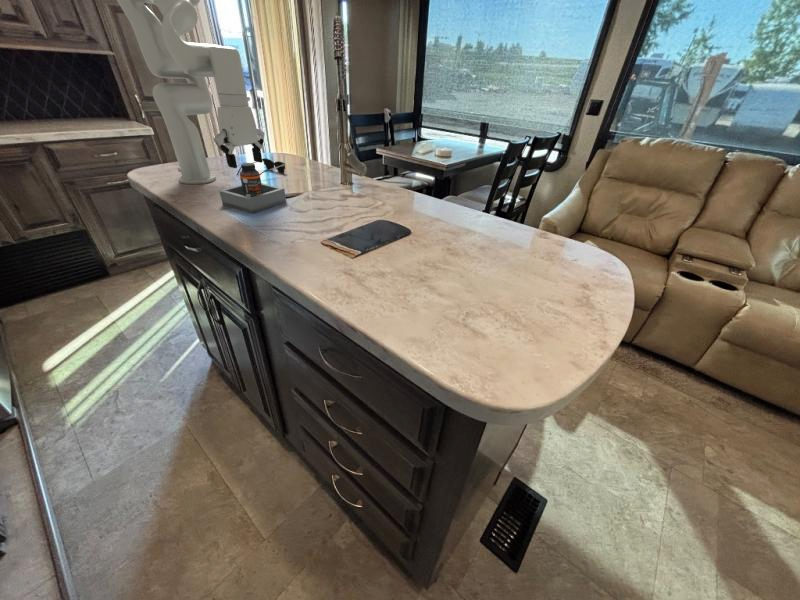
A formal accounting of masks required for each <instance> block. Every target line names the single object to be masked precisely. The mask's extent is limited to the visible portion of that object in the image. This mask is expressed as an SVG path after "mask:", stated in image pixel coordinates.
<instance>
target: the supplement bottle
mask: <svg viewBox="0 0 800 600" xmlns="http://www.w3.org/2000/svg"><path fill="white" fill-rule="evenodd" d="M240 164H241V165H240V167H242V168H241V170H240V171H239V179H240V183H241V184H240V185H242V188H243V193H244V196H247V197H254V196H257V195H260V194H263V190H262V184H261V183H262V179H261V175H260V172H259V170H257V169H256V164H255V163H253V162H244V163H243V162H242V163H240Z"/></svg>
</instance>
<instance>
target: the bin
mask: <svg viewBox="0 0 800 600" xmlns="http://www.w3.org/2000/svg"><path fill="white" fill-rule="evenodd" d="M261 184H262V190H263V194H260V195H257V196H254V197H247V196H244V193H243V188H242V184H239V185H236V186H232V187H228V188H225V189H220V190H218V192H219V195H220V199H221V203H222V205H223V206H226V207H228V208H229V207H230V208H233V209H236V210H240V211H243V212H248V213H249V214H257V213H259V212H262V211H265V210H268V209H270V207H271V208H272V207H276V206H279V205H281V203H282V204H285V203H287V198H286V192H285V188H284V187H280V186H275V185H271V184H267V183H263V182H261ZM278 204H279V205H278ZM275 205H276V206H275Z"/></svg>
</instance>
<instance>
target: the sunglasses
mask: <svg viewBox="0 0 800 600" xmlns="http://www.w3.org/2000/svg"><path fill="white" fill-rule="evenodd" d="M252 163H253V164H255V163H257V162H256V161H253V162H252ZM262 163H263V165H264V166H265V168H266V170H264V171H261V172H259V174H260V176H261V175H262V174H264V173H266V172H269V171H272V170H273V171H274V169H276V171H277V172H278V173H280V172H281V174H285V170H286V163H284V162H282V161H273V160H271V159H269V158H262ZM268 169H269V170H268ZM241 170H242V167H241V166H240V167H239V169H238V172H237V173H236V176H237V175H238V176H239V175H240V172H241Z"/></svg>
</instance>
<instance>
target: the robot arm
mask: <svg viewBox="0 0 800 600" xmlns="http://www.w3.org/2000/svg"><path fill="white" fill-rule="evenodd" d="M116 1H117V3H118V5H119V6H120V8H121V10H122V11H123V13H124V14H125V16H126V18H127V19H128V21H129V23H130V25H131V27H132V30H133V32H134V36H135V38H136V41H137V43H138V46H139V48H140V51H141V54H142V56H143V58H144V62H145V64H146V66H147V68H148V69H149V72H150V73H151V74H152V75H153V76H155V77H158V78H161V79H177V80H178V79H180V80H181V79H183V80H186V82H185V83H184V82H163V83H158V84H156V85H155V86H154V87H153V88H152V97H153V100H154V102H155V103H156V107H157V108H158V110H159V112H160V115H161V116H162V118H163V121H164V123H165V126H166V129H167V133H168V135H169V138H170V142H171V145H172V148H173V151H174V155H175V158H176V160H177V163H178V167H177V171H178V172H180V174H181V176H179V177H178V181H179V183H181V184H186V185H187V184H188V185H199V184H200V185H201V184H207V183H211V182H214V181H215V180H216V179H217V177H216V175H215V173H214V174H213V173H211V171H210V168H209V165H208V161H207V157H206V154H205V149H204V146H203V143H202V139H201V135H200V132H199V129H198V128H197V126H196V125H195V123H194V122H193V121H192V120H190V119H189V117H188V116H194V115H207V114H210V113H211V112H212V110H213V101H212V97H211V93H210V90H209V88H208V87H209V86H208V84H207V81H206V78H214V83H215V89H216V93H217V96H218V97H217V98H218V103H219V106H217V123H218V129H219V133H217V134H216V135H215V136H214V137H213V139H212V140H213V141H214V143H215V145H216V146H217V148H218V149H220V151H222V153H223V154H224V155H225V158H226V162H227V163H226V164H227V166H228V167H229V168H231V169H237V168H238V165H237V159H236V155H235V154H234V153H233V152H234V151H235V148H236V147H241V146H248V145H251V151H252V157H253V162H256V163H259V164H261V163H263V161H262V159H263V156H262V151H261V150H262V148H263V144H264V142H265V141H264V139H265V135H266V134H265V132H264V131H263V130H260V129H258V128H257V124H256V120H255V116H254V113H253V111H252V108H251V106H250V105H249V104H250V103H249V102H250V101H251V98H250V96H248V94H247V93H248V92H247V88H246V82H245V76H244V71H243V65H242V58H241V54H240V52H239V50H238V49H237V48H236V47H232V46H224V45H221V44H211V43H204V42H192V41H186V40H185V41H184V40H183V38H182V37H181V36H183V35H185V34H187V33H189V32H191V31H192V30H193V29H194V28H195V27H196V26H197V24H198V18H199V17H198V12H197V9H196V8H195V6H197V5H199V3H200V2H201V0H116ZM146 4H150V5H155V6H156V7H157V9H158V11H159V12H160V13H161V15H162V16H163V18H162V21H160V19H159V18H158V17H157V15H156V14H155V13H154V12H153V11H152V10H151V9H150V8H149V7H148V6H147V5H146Z"/></svg>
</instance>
